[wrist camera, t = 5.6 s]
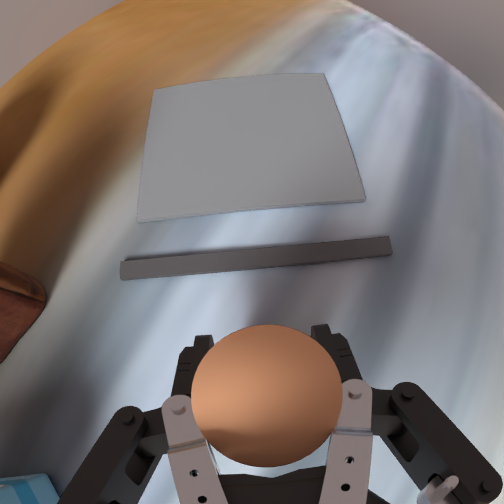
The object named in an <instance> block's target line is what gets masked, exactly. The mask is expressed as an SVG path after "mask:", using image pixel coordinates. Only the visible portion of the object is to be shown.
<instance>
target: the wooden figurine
mask: <svg viewBox="0 0 504 504" xmlns="http://www.w3.org/2000/svg"><path fill="white" fill-rule="evenodd" d="M45 300H46V294H45V291H44V288H43V287H42V286H41V285H40V284H39V283H38V282H37V281H36V280H34V279H33V278H31V277H30V276H28V275H26V274H24V273H23V272H20V271H18V270H17V269H14V268H12V267H11V266H9V265H6V264H4V263H2V262H0V363H1V362H2V361H3V360H4V358H5V357H6V356H7V354H8V353H9V352H10V350H11V349H12V347H13V346H14V345H15V344H16V342H17V341H18V340H19V338H20V337H21V336H22V335H23V334H24V333H25V332H26V330H27V329H28V328H29V327H30V326H31V324H32V323H33V322H34V321H35V320H36V318H37V317H38V316H39V315H40V313H41V312H42V311H43V309H44V305H45Z"/></svg>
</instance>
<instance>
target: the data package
mask: <svg viewBox="0 0 504 504" xmlns="http://www.w3.org/2000/svg"><path fill="white" fill-rule="evenodd" d="M59 499H60V498H59V496H58V494H57V492H56V490H55V489H54V487H53V485H52V483H51V481H50V479H49V477H48V475H47V474H45V473H39V474H32V475H24V476H15V477H5V478H0V504H57V502H58V501H59Z"/></svg>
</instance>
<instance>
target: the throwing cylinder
mask: <svg viewBox="0 0 504 504" xmlns="http://www.w3.org/2000/svg"><path fill="white" fill-rule="evenodd" d="M342 400H343V389H342V383H341V378H340V375H339V371H338V369H337V367H336V365H335V363H334V361H333V360H332V358H331V356H330V355H329V354H328V352H327V351H326V350H325V349H324V348H323V347H322V346H321V345H320V344H319V343H318V342H317V341H315V340H314V339H312V338H311V337H309V336H308V335H306V334H304V333H302V332H300V331H298V330H295V329H292V328H289V327H284V326H279V325H257V326H251V327H247V328H243V329H240V330H238V331H236V332H233V333H231V334H229V335H228V336H226V337H224V338H223V339H221V340H220V341H219V342H217V343H216V344H215V345H214V346H213V347H212V348H211V349H210V350H209V351H208V352H207V354H206V355H205V356H204V358H203V359H202V361H201V362H200V364H199V366H198V368H197V371H196V373H195V376H194V379H193V383H192V390H191V404H192V410H193V414H194V418H195V421H196V423H197V425H198V427H199V429H200V431H201V433H202V434H203V436H204V437H205V438H206V440H207V441H208V442H209V443H210V444H211V445H212V446H213V447H214V448H215V449H216V450H217V451H219V452H220V453H222V454H223V455H224V456H226V457H228V458H230V459H232V460H234V461H236V462H239V463H242V464H245V465H249V466H255V467H277V466H283V465H287V464H290V463H293V462H296V461H298V460H301V459H303V458H304V457H306V456H308V455H310V454H311V453H312V452H314V451H315V450H316V449H318V448H319V447H320V446H321V445H322V444H323V443H324V442H325V441H326V439H327V438H328V437H329V435H330V434H331V433H332V431H333V429H334V427H335V426H336V423H337V421H338V419H339V416H340V412H341V408H342Z"/></svg>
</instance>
